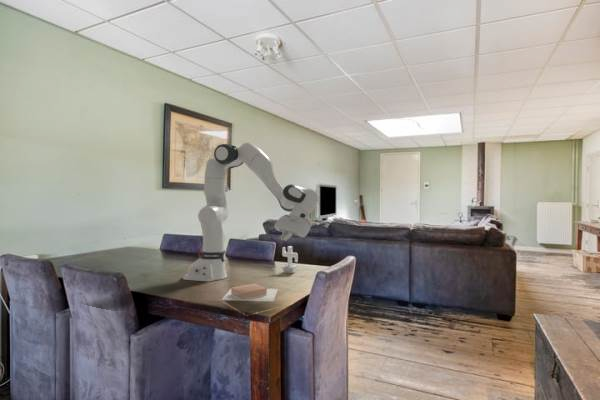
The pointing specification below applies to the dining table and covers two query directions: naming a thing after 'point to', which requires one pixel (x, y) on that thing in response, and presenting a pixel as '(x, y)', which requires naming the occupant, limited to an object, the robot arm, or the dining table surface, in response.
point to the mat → (269, 297)
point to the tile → (248, 291)
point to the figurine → (289, 260)
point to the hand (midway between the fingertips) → (283, 239)
